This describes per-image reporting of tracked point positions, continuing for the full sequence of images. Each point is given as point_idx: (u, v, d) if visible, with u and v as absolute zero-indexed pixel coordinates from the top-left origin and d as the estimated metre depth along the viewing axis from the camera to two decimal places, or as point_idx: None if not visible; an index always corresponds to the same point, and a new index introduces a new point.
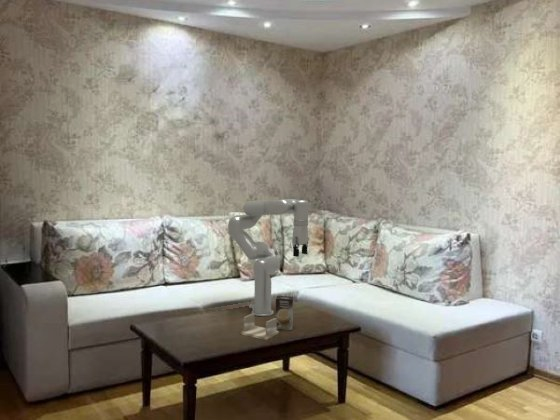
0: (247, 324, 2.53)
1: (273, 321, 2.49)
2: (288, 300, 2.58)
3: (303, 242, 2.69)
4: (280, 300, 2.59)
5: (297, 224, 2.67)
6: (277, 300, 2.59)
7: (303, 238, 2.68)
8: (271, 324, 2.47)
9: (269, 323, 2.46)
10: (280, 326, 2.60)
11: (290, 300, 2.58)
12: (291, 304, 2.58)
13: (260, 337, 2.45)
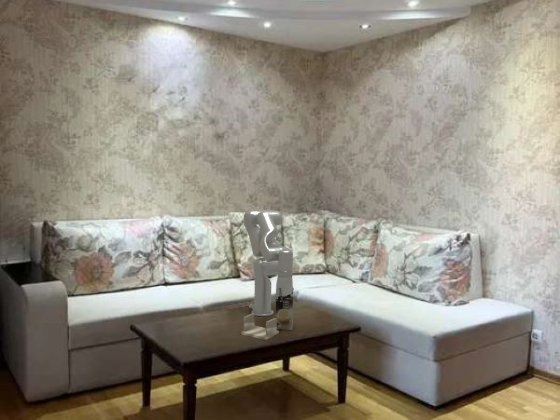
0: (247, 324, 2.53)
1: (273, 321, 2.49)
2: (288, 300, 2.58)
3: (287, 293, 2.59)
4: None
5: (281, 275, 2.57)
6: None
7: (287, 289, 2.58)
8: (271, 324, 2.47)
9: (269, 323, 2.46)
10: (280, 326, 2.60)
11: (290, 300, 2.58)
12: (291, 304, 2.58)
13: (260, 337, 2.45)
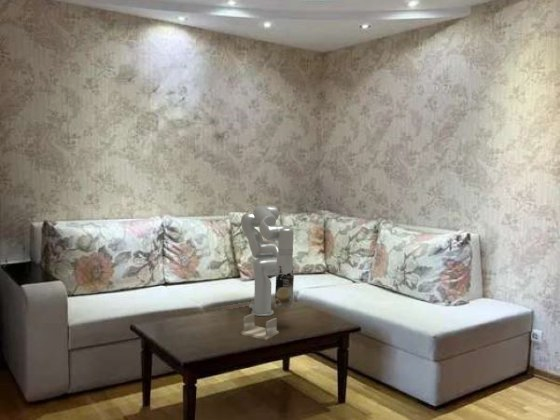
0: (247, 324, 2.53)
1: (273, 321, 2.49)
2: (288, 278, 2.58)
3: (287, 271, 2.59)
4: None
5: (281, 253, 2.56)
6: None
7: (287, 267, 2.58)
8: (271, 324, 2.47)
9: (269, 323, 2.46)
10: (280, 305, 2.60)
11: (290, 278, 2.58)
12: (291, 282, 2.58)
13: (260, 337, 2.45)
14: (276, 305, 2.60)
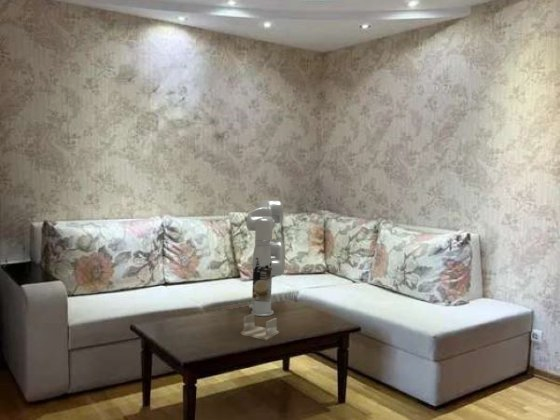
0: (247, 324, 2.53)
1: (273, 321, 2.49)
2: (266, 271, 2.47)
3: (265, 264, 2.48)
4: None
5: (258, 244, 2.46)
6: None
7: (264, 259, 2.47)
8: (271, 324, 2.47)
9: (269, 323, 2.46)
10: (258, 298, 2.48)
11: (268, 271, 2.47)
12: (269, 275, 2.47)
13: (260, 337, 2.45)
14: (254, 299, 2.49)
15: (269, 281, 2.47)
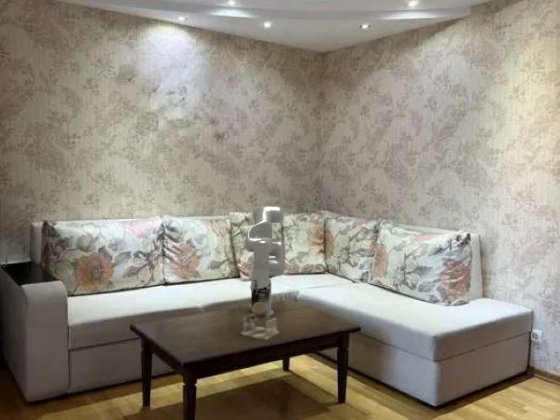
0: (247, 324, 2.53)
1: (273, 321, 2.49)
2: (264, 293, 2.47)
3: (263, 285, 2.49)
4: None
5: (256, 266, 2.47)
6: None
7: (263, 281, 2.48)
8: (271, 324, 2.47)
9: (269, 323, 2.46)
10: (256, 320, 2.49)
11: (266, 293, 2.47)
12: (267, 297, 2.47)
13: (260, 337, 2.45)
14: (252, 321, 2.49)
15: (267, 303, 2.48)
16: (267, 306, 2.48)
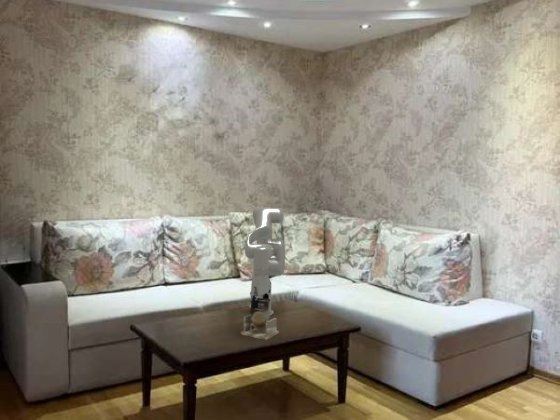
0: (247, 324, 2.53)
1: (273, 321, 2.49)
2: (263, 302, 2.48)
3: (263, 292, 2.49)
4: None
5: (256, 273, 2.47)
6: None
7: (263, 288, 2.48)
8: (271, 324, 2.47)
9: (269, 323, 2.46)
10: (256, 330, 2.50)
11: (266, 302, 2.48)
12: (267, 307, 2.48)
13: (260, 337, 2.45)
14: (251, 330, 2.50)
15: (267, 313, 2.48)
16: (266, 316, 2.48)
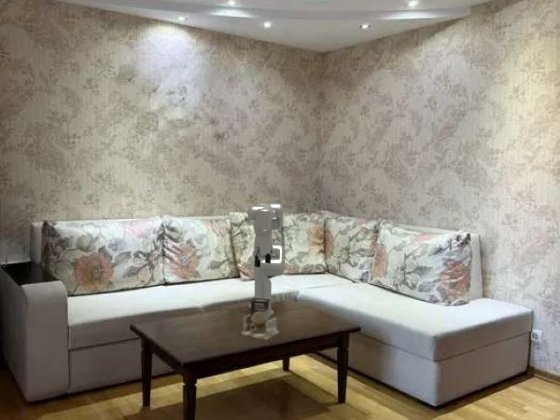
0: (247, 324, 2.53)
1: (273, 321, 2.49)
2: (263, 302, 2.48)
3: (265, 252, 2.59)
4: (255, 302, 2.49)
5: (259, 234, 2.57)
6: (252, 302, 2.49)
7: (265, 248, 2.58)
8: (271, 324, 2.47)
9: (269, 323, 2.46)
10: (256, 330, 2.50)
11: (266, 302, 2.48)
12: (267, 307, 2.48)
13: (260, 337, 2.45)
14: (251, 330, 2.50)
15: (267, 313, 2.48)
16: (266, 316, 2.48)
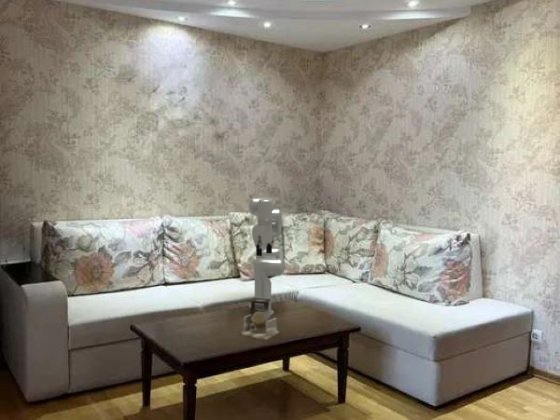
0: (247, 324, 2.53)
1: (273, 321, 2.49)
2: (263, 302, 2.48)
3: (266, 241, 2.67)
4: (255, 302, 2.49)
5: (260, 223, 2.65)
6: (252, 302, 2.49)
7: (266, 237, 2.67)
8: (271, 324, 2.47)
9: (269, 323, 2.46)
10: (256, 330, 2.50)
11: (266, 302, 2.48)
12: (267, 307, 2.48)
13: (260, 337, 2.45)
14: (251, 330, 2.50)
15: (267, 313, 2.48)
16: (266, 316, 2.48)
